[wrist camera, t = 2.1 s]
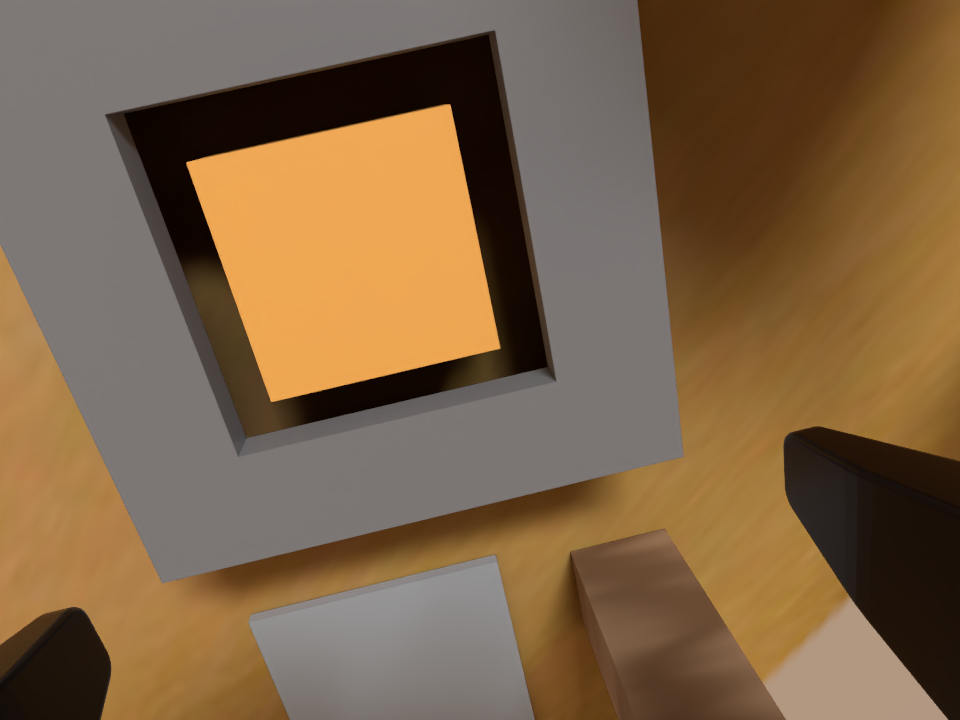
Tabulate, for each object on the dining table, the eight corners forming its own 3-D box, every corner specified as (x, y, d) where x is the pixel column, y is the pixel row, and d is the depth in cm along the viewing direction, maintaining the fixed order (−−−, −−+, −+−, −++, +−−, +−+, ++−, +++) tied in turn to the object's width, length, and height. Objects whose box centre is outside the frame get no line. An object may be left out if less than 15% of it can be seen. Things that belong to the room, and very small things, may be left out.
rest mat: (495, 554, 24) (497, 561, 24) (537, 729, 28) (539, 737, 27) (250, 614, 24) (248, 622, 24) (322, 784, 27) (321, 793, 27)
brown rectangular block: (664, 528, 25) (824, 781, 16) (673, 603, 26) (826, 877, 17) (570, 551, 25) (675, 820, 15) (584, 626, 26) (688, 914, 17)
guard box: (558, -102, 17) (619, -177, 13) (623, 383, 23) (683, 456, 18) (16, 11, 17) (-128, -23, 12) (211, 482, 22) (162, 583, 17)
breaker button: (441, 104, 17) (450, 104, 14) (484, 312, 19) (500, 348, 16) (220, 152, 17) (186, 162, 14) (289, 357, 19) (270, 402, 16)
